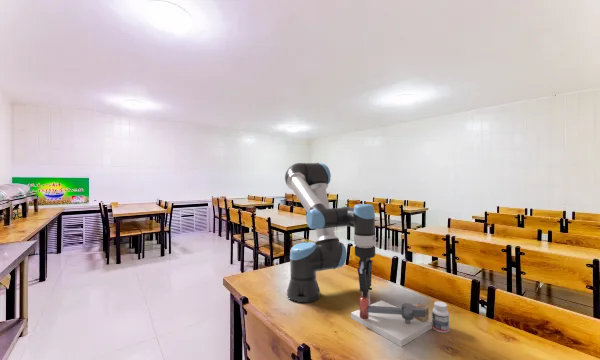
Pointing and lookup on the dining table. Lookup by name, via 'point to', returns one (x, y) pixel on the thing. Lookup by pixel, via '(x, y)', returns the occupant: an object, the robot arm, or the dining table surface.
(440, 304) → the pill bottle
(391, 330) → the base
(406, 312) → the lever
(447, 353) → the dining table surface
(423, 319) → the walnut block
